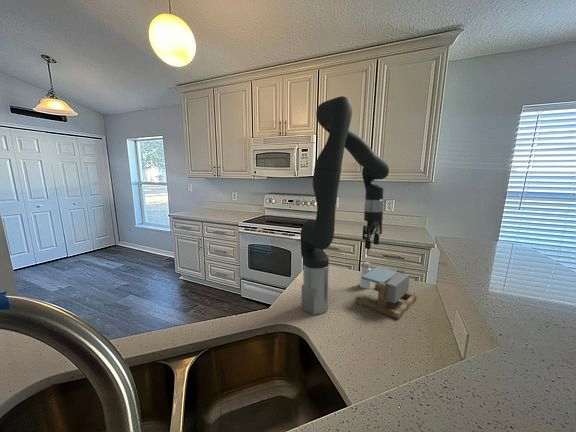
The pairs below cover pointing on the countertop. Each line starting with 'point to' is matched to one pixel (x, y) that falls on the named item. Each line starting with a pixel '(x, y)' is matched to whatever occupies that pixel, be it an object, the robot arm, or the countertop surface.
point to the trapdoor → (389, 282)
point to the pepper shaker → (365, 270)
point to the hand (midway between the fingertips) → (372, 246)
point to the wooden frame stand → (382, 301)
